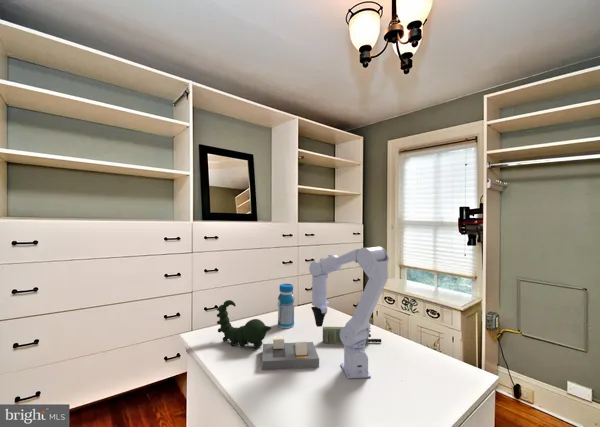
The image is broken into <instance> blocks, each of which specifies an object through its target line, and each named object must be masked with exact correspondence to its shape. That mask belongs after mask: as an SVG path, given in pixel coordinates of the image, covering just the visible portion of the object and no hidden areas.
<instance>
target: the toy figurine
mask: <svg viewBox="0 0 600 427" xmlns="http://www.w3.org/2000/svg"><path fill="white" fill-rule="evenodd" d="M229 306H233V307H237V305H236V303H235V301H234V300H231V299H227V300H225V301H224V302H223V304H220V305H219V306H218V307H217V308H216V311H217V312H218V313H217V314H216V317H217V318H219V320H217V321H216V324H217V325H220V328H219V327H218V329H217V333H223V335H224V336H223V337H222V342H228V341H229V344H230V346H231V347H232V346H233V347H234V346H235V345H236V344H238V346H239V347H240V348H243V347H244V346H245V344H246V343H249V344H252V345H253V347H254V348H255V349H259V348H261V347H262V346H263V340H265V337H266V335H267V332H268V331H270V330H272V326H268V325H266V324H265V323H264V321H262V320H261V319H259V318H253V319H250V320H248V321H247V322H246V323H245V324H244V325H241V326H239V327H234V326H233V325H232V323H231V322H230V317H229V312H228V310H227V309H228V307H229Z"/></svg>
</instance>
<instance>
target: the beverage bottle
mask: <svg viewBox="0 0 600 427" xmlns="http://www.w3.org/2000/svg"><path fill="white" fill-rule="evenodd" d="M279 292H280V293H279V295H278V298H277V300H278V302H277V326H278V327H279V328H281V329H290V328H291V329H292V328H293V327H294V326H295V306H296V305H295V304H296V303H295V296H294V294H293V292H294V285H293V284H291V283H282V284H279Z"/></svg>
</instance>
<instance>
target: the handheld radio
mask: <svg viewBox="0 0 600 427" xmlns="http://www.w3.org/2000/svg"><path fill="white" fill-rule="evenodd" d="M343 327H344V326H322V343H323V344H343V343H342V341H341V339H340V330H341V329H342V328H343ZM370 333H371V327H370V328H369V337H368V338H367V339H366V343H365V345H368V344H369V343H382V338H371V337H372V335H371V334H370ZM367 343H368V344H367Z"/></svg>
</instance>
